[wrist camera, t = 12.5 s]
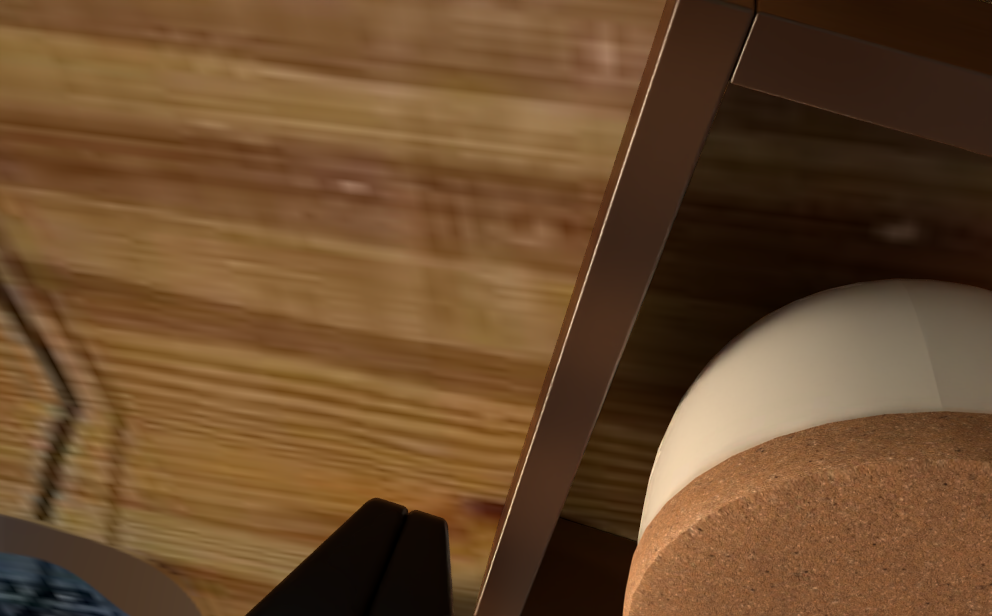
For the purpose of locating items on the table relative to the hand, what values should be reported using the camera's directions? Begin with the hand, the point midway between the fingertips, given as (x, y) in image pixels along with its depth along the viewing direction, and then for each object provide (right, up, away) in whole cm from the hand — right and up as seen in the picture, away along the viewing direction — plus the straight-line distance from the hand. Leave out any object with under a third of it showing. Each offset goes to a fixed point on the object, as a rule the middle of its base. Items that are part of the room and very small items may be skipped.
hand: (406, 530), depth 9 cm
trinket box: (+10, +1, +12) cm, 16 cm away
